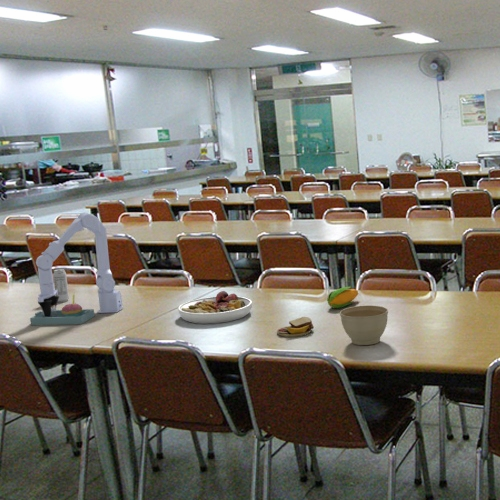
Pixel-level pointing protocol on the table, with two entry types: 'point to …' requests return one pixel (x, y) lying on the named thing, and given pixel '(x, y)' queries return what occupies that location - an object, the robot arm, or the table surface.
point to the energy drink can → (61, 285)
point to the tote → (62, 318)
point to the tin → (53, 311)
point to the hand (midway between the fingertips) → (50, 314)
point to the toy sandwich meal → (297, 328)
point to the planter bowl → (364, 323)
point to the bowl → (215, 309)
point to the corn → (341, 297)
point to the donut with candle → (72, 309)
